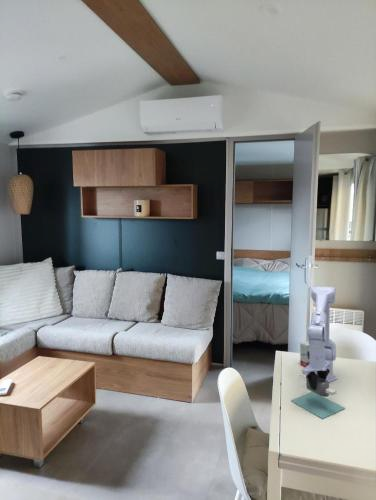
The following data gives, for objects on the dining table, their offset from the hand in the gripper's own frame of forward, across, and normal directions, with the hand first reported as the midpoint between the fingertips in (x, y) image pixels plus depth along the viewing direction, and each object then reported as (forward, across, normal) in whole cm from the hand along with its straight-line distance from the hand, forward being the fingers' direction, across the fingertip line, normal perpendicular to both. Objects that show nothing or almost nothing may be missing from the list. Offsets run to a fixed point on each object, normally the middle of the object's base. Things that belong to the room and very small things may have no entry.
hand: (317, 387), depth 146 cm
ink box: (+8, +27, +28) cm, 40 cm away
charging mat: (+7, 0, 0) cm, 7 cm away
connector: (+1, 0, -2) cm, 2 cm away
